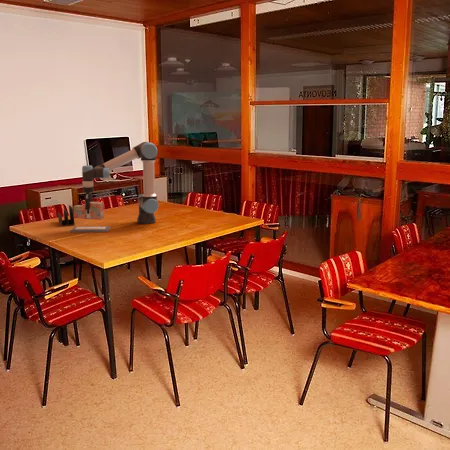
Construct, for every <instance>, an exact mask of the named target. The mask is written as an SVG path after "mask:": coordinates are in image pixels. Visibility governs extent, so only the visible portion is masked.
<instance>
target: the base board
mask: <svg viewBox="0 0 450 450" xmlns="http://www.w3.org/2000/svg"><path fill="white" fill-rule="evenodd" d="M110 230H111V225H106V226H105V225H103V226H100V225H99V226H97V225H94V226H89V225H87V226H74V227H72V228H71V229H70V233H108V232H109V231H110Z"/></svg>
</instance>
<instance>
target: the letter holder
mask: <svg viewBox="0 0 450 450" xmlns="http://www.w3.org/2000/svg"><path fill="white" fill-rule="evenodd" d="M68 212H69V215H68ZM57 218H58V219H57V220H58V221H57V222H58V223H59V225H60V226H61V227H62V228H63V227H71V226H74V227H75V225H76V224H75V223H76V222H75V218H74V208H73V207H72V205H68V211H67V210H66V209H65V208H64V209H63V216H62V214H61V213H60V212H58V213H57ZM63 218H64V219H63Z"/></svg>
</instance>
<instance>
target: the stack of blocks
mask: <svg viewBox="0 0 450 450" xmlns="http://www.w3.org/2000/svg"><path fill="white" fill-rule="evenodd" d="M72 208H73V213H74V219H77V220H78V219H80V220H81V219H83V220H95V221H96V220H97V221H101V220H104V218H105V215H104V214H105V213H104V212H105V208H104V202H101V201H93V202H90V214H91V218H87V213H86V210H85V208H86V206H85V204H81V205H80V204H76V205H73V207H72Z"/></svg>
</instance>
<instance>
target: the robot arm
mask: <svg viewBox="0 0 450 450" xmlns="http://www.w3.org/2000/svg"><path fill="white" fill-rule="evenodd" d="M157 155H158V148H157V146H156V145H155V144H154V143H153V142H149V141H142V142H141V143H139V144H138V145H135V146H134V147H132V148H131V149H130V150H129V151H126V152H124V153H123V154H120V155H117V156H116V157H114V158H112V159H109V160H108V161H106V162H104V163H102V164H100V165H96V166H95V167H93V165H91V164H90V165H87V164H86V165H82V168H81V176H82V182H81V184H82V186H83V187H82V192H83V193H85V195H84V199H85V200H84V201H85V202H84V205H85V206H86V208H85V210H86V213H87V218H91V214H90V202H94V200H93V192H94V191H95V188H94V179H106V178H107V179H108V178H110V172H111V171H113V170H116V169H118V168H121V167H122V166H124V165H126V164H128V163H130V162H132V161H134V160H136V159H137V160H139V159H140V161H141V162H142V176H143V193H142V194H138V195H137V196H138V198H137V199H138V214H137V218H136V222H137V223H136V224H140V225H147V224H148V225H149V223H151V224H154V222H155V223H156V222H157V218H156V216H155V213H156V212H157V211H158V209H159V206H160V205H159V201H158V195H157V194H156V191H155V190H156V186H155V185H156V184H155V183H156V182H155V180H156V179H155V178H156V177H155V163H156V161H157Z"/></svg>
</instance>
